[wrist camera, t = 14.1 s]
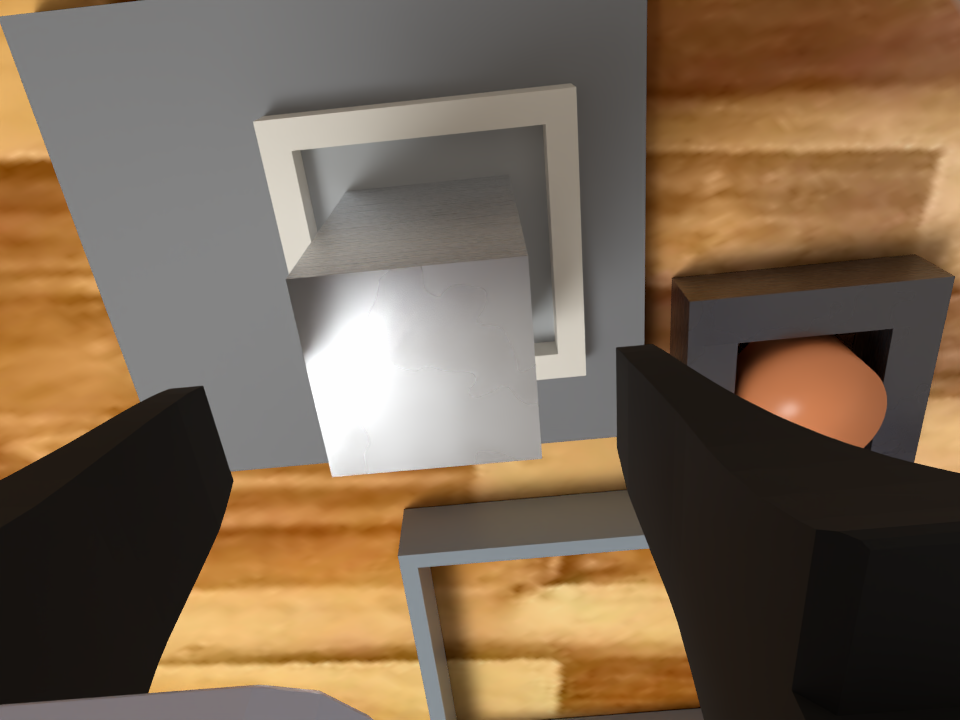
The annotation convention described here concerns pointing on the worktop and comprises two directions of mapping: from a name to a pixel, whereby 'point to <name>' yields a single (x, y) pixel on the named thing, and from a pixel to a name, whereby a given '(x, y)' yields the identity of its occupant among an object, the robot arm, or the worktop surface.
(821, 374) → the button
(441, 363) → the block
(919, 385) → the button collar
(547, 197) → the board
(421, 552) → the tote
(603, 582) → the worktop surface
